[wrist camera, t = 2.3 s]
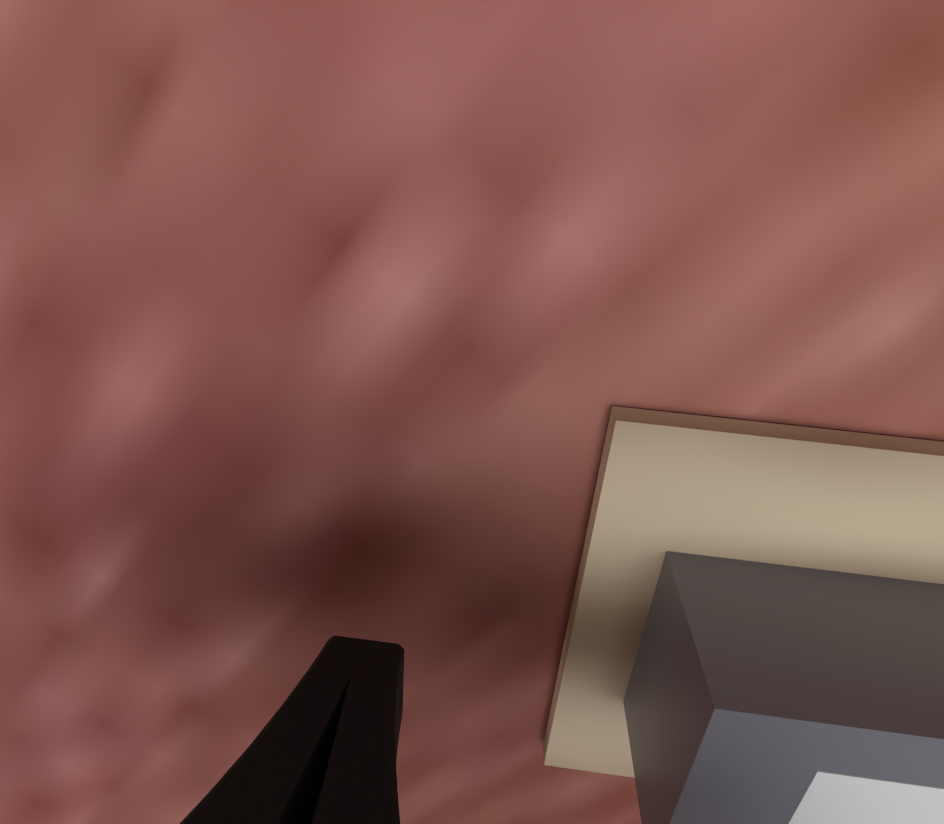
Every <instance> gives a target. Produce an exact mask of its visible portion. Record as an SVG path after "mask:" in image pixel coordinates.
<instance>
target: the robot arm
mask: <svg viewBox="0 0 944 824" xmlns="http://www.w3.org/2000/svg"><path fill="white" fill-rule="evenodd" d="M403 672H404V649H403V648H402V647H401V646H400V645H399V644H394V643H387V642H379V641H371V640H364V639H356V638H348V637H341V636H333V637H332V638H330V639H329V640H328V641H327V643H326V644H325V646H324V648H323V649H322V651H321V652H320V654H319V655H318V657H317V658H316V659H315V661H314V662H313V664H312V665H311V667H310V668H309V670H308V671H307V672H306V674H305V675H304V677H303V678H302V679H301V681H300V682H299V683H298V685H297V686H296V688H295V689H294V690H293V692H292V693H291V694H290V696H289V697H288V698H287V700H286V701H285V702H284V704H283V705H282V706H281V707H280V709H279V710H278V711H277V712H276V714H275V715H274V716H273V717H272V719H271V720H270V721H269V722H268V724H267V725H266V726H265V727H264V729H263V730H262V731H261V732H260V734H259V735H258V736H257V737H256V739H255V740H254V741H253V742H252V744H251V745H250V746H249V747H248V748H247V750H246V751H245V752H244V753H243V754H242V755H241V756H240V758H239V759H238V760H237V761H236V762H235V763H234V764H233V766H232V767H231V768H230V769H229V770H228V771H227V772H226V774H225V775H224V776H223V777H222V778H221V779H220V780H219V782H218V783H217V784H216V785H215V786H214V787H213V788H212V790H211V791H210V792H209V793H208V794H207V795H206V796H205V797H204V798H203V799H202V801H201V802H200V803H199V804H198V805H197V806H196V807H195V808H194V809H193V810H192V811H191V812H190V813H189V814H188V815H187V817H186V818H185V819H184V820H183V821H182V822H181V823H180V824H400V817H399V805H398V793H397V777H396V756H397V747H398V738H399V731H400V724H401V718H402V707H403Z"/></svg>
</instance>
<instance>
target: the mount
mask: <svg viewBox="0 0 944 824" xmlns="http://www.w3.org/2000/svg"><path fill="white" fill-rule="evenodd" d="M666 551H672V552H680V553H688V554H697V555H705V556H713V557H721V558H730V559H738V560H746V561H755V562H763V563H771V564H780V565H788V566H796V567H805V568H813V569H821V570H829V571H838V572H846V573H854V574H863V575H871V576H879V577H888V578H896V579H904V580H913V581H921V582H929V583H937V584H944V442H942V441H933V440H923V439H914V438H905V437H895V436H886V435H877V434H868V433H858V432H849V431H840V430H831V429H821V428H812V427H803V426H793V425H784V424H775V423H766V422H756V421H747V420H738V419H728V418H719V417H710V416H701V415H691V414H682V413H673V412H664V411H654V410H645V409H636V408H626V407H617V406H612V409H611V414H610V419H609V424H608V428H607V433H606V438H605V443H604V448H603V453H602V458H601V463H600V468H599V473H598V478H597V483H596V487H595V492H594V497H593V502H592V507H591V512H590V517H589V522H588V527H587V532H586V537H585V542H584V547H583V551H582V556H581V561H580V566H579V571H578V576H577V581H576V586H575V591H574V596H573V601H572V606H571V610H570V615H569V620H568V625H567V630H566V635H565V640H564V645H563V650H562V655H561V660H560V665H559V670H558V674H557V679H556V684H555V689H554V694H553V699H552V704H551V709H550V714H549V719H548V724H547V729H546V733H545V738H544V765H547V766H554V767H561V768H568V769H576V770H583V771H590V772H597V773H604V774H611V775H618V776H625V777H632V778H635V775H634V769H633V762H632V756H631V749H630V743H629V736H628V730H627V723H626V716H625V710H624V703H623V701H624V697H625V694H626V690H627V687H628V683H629V680H630V676H631V673H632V669H633V666H634V662H635V659H636V655H637V652H638V648H639V645H640V641H641V638H642V634H643V631H644V627H645V624H646V620H647V617H648V613H649V610H650V606H651V603H652V599H653V596H654V592H655V589H656V585H657V582H658V578H659V575H660V571H661V568H662V564H663V561H664V557H665V554H666Z"/></svg>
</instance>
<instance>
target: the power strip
mask: <svg viewBox="0 0 944 824" xmlns="http://www.w3.org/2000/svg"><path fill="white" fill-rule="evenodd" d="M623 703H624V710H625V716H626V723H627V730H628V736H629V743H630V749H631V756H632V762H633V769H634V775H635V782H636V789H637V795H638V802H639V808H640V815H641V821H642V824H944V584H937V583H929V582H921V581H913V580H904V579H896V578H888V577H879V576H871V575H863V574H854V573H846V572H838V571H829V570H821V569H813V568H805V567H796V566H788V565H780V564H771V563H763V562H755V561H746V560H738V559H730V558H721V557H713V556H705V555H697V554H688V553H680V552H672V551H666V554H665V557H664V561H663V564H662V568H661V571H660V575H659V578H658V582H657V585H656V589H655V592H654V596H653V599H652V603H651V606H650V610H649V613H648V617H647V620H646V624H645V627H644V631H643V634H642V638H641V641H640V645H639V648H638V652H637V655H636V659H635V662H634V666H633V669H632V673H631V676H630V680H629V683H628V687H627V690H626V694H625V697H624V701H623Z"/></svg>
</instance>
